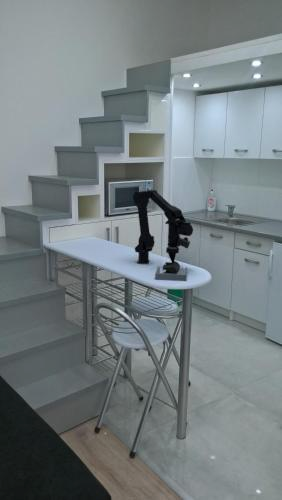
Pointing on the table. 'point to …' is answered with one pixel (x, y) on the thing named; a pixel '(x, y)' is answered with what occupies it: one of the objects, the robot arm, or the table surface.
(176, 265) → the end cap
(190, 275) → the table surface
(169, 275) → the bay
